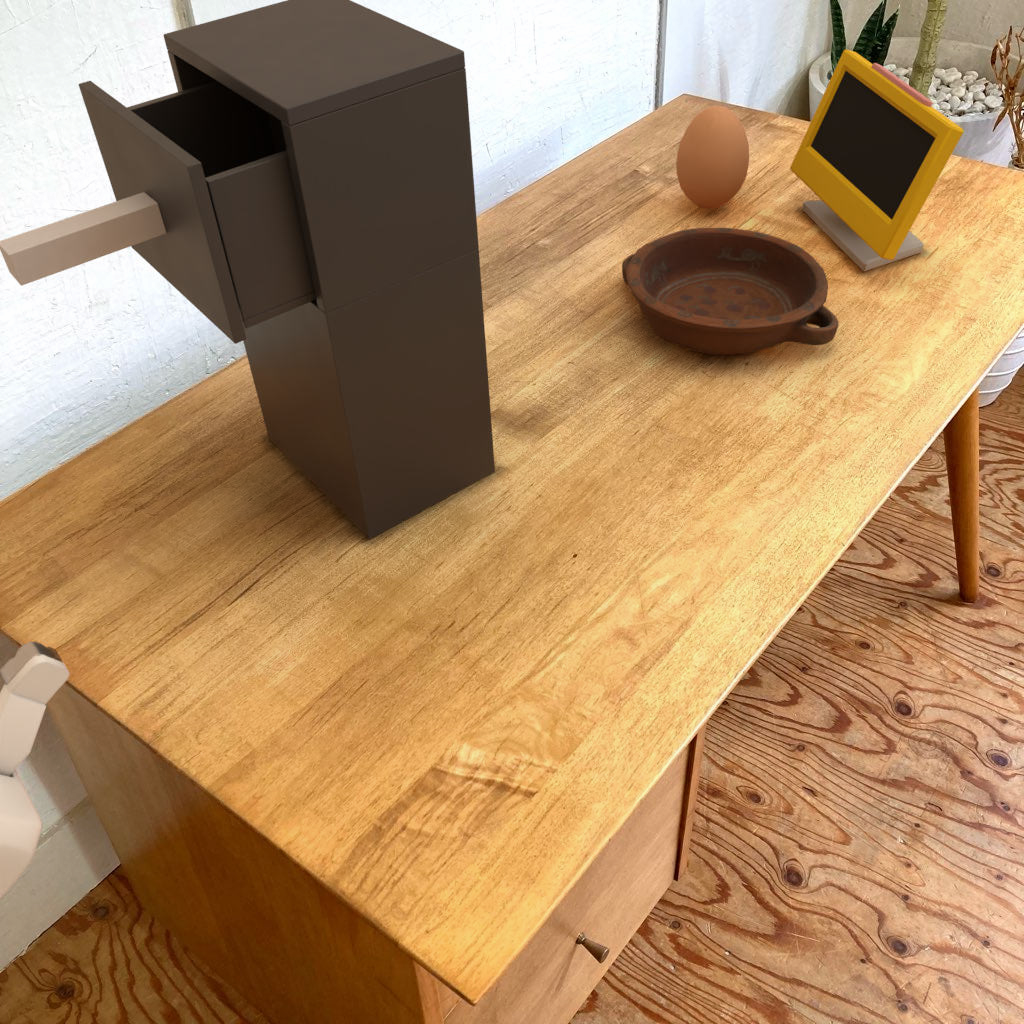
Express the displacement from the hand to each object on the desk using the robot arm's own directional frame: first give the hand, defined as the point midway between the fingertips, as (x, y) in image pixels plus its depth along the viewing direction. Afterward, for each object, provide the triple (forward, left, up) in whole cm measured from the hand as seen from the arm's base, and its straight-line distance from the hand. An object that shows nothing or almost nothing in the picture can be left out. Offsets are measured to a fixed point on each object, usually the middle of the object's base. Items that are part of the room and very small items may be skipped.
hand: (13, 590), depth 46 cm
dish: (+46, +49, -23) cm, 71 cm away
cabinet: (+13, +34, -22) cm, 43 cm away
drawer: (+4, +28, -2) cm, 29 cm away
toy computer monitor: (+64, +62, -23) cm, 92 cm away
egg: (+50, +71, -23) cm, 90 cm away
